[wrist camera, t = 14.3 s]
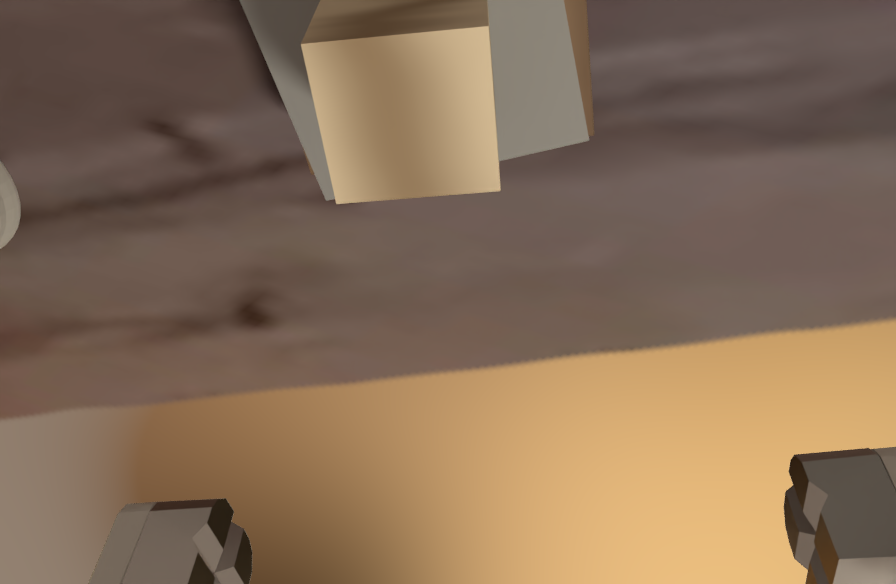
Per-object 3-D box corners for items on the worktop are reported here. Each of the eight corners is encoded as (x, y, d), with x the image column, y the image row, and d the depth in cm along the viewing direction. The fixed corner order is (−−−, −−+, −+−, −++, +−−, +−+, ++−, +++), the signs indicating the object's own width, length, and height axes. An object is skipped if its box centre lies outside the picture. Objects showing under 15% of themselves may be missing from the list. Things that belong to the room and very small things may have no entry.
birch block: (485, -32, 25) (488, 25, 21) (496, 116, 28) (500, 191, 24) (327, -16, 25) (300, 43, 21) (354, 129, 28) (336, 203, 24)
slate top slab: (525, -192, 26) (533, -170, 22) (577, 91, 32) (589, 140, 28) (238, -103, 27) (208, -71, 24) (339, 149, 33) (326, 200, 30)
